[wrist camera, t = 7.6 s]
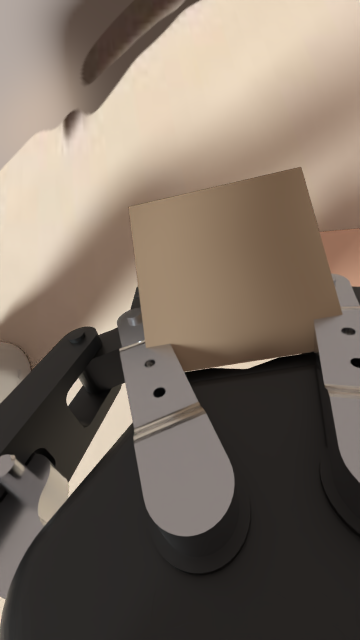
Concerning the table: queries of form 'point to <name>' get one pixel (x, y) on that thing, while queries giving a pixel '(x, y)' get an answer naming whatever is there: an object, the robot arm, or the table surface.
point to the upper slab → (343, 253)
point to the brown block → (233, 271)
